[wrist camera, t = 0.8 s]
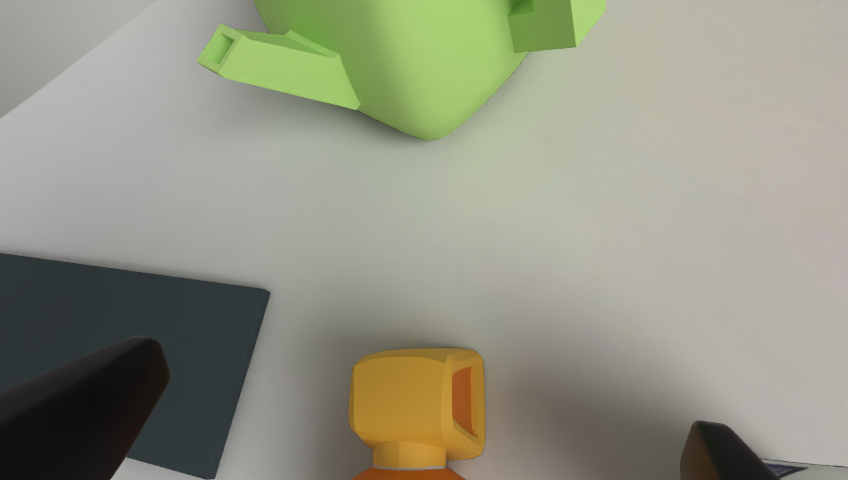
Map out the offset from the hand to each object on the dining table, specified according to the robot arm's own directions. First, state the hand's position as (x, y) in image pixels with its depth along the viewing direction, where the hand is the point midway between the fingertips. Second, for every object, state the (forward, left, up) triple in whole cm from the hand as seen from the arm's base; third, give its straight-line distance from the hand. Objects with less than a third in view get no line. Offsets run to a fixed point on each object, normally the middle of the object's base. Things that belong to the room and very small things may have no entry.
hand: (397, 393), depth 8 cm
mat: (0, +23, -14) cm, 27 cm away
